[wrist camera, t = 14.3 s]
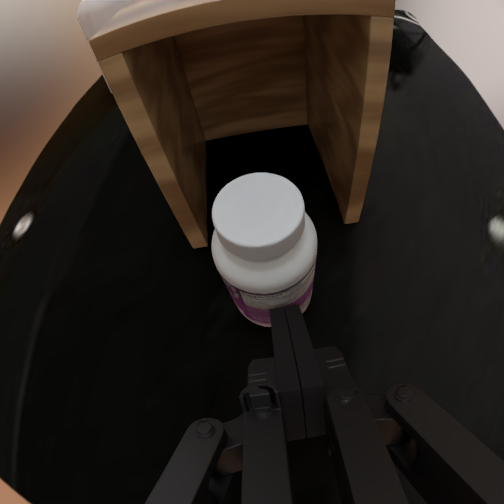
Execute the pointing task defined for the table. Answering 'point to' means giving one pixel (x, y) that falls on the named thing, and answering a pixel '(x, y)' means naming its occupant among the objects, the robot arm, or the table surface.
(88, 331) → the table surface
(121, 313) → the table surface
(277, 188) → the pill bottle
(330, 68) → the cubby
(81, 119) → the table surface
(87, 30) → the white jar
